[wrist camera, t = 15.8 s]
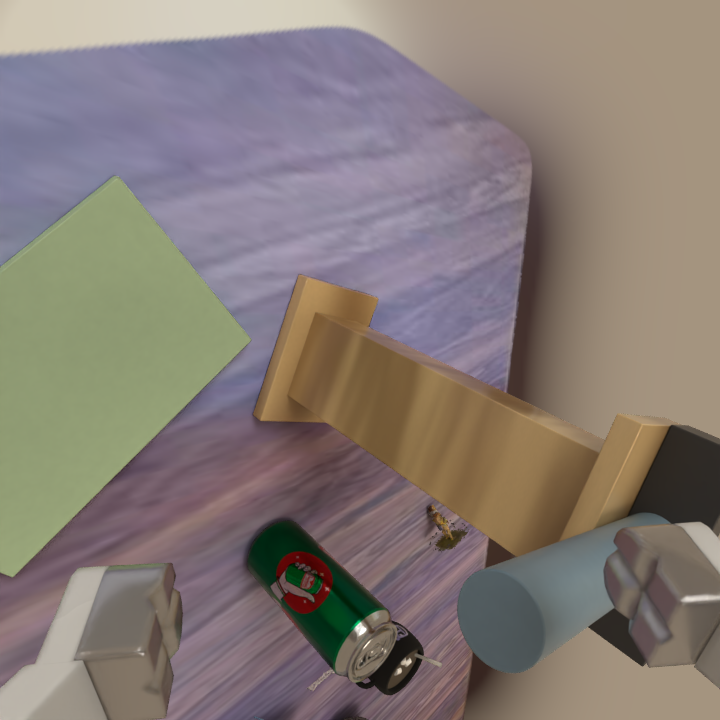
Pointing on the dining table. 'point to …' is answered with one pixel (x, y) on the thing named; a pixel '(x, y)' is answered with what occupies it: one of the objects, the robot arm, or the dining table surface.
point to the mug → (395, 664)
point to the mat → (95, 359)
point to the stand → (451, 426)
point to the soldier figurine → (447, 539)
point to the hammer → (585, 566)
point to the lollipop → (349, 719)
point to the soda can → (322, 600)
